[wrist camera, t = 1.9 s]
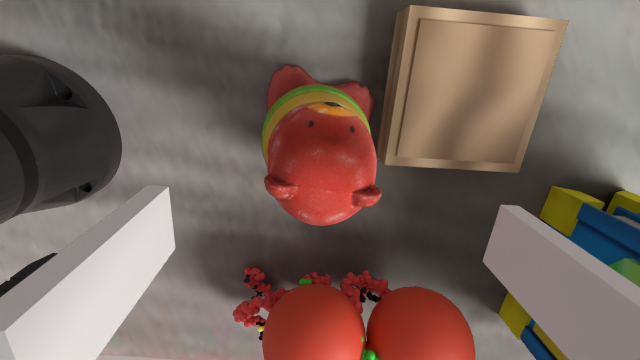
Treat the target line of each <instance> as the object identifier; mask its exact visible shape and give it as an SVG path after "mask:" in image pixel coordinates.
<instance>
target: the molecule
mask: <svg viewBox="0 0 640 360" xmlns="http://www.w3.org/2000/svg"><path fill="white" fill-rule="evenodd" d="M244 273H245V276H244V278H245V280H244V284H245V286H246V287H250V286H252V287H253V288H252V289H254V290H255V291H256V292H258V293H257V294H258V295H259V296H261V297H262V294H261V293H264V296H265V297H264V299H261V298H260V297H259V296H258V295H256V296H253V297H252V298H251V299H252V300H251V301H250V303H249V302H248V301H244V302H242V303H241V304H239V306H237V307H236V310H234V312H233V316H234V317H235V321H236V322H240V321H241V322H244V325H245V326H246V327H249V326H250V325H251V324H252V325H253V326H257V325H258V326H257V331H258V332H260V337H259V339H260V340H262V348H263V355H264V359H265V360H475V355H476V354H475V347H474V341H473V336H472V333H471V330H470V327H469V325H468V323H467V321H466V319H465V318H464V316H463V315H462V313H461V311H460V310H459V309H458V308H457V307H456V306H455V305H454V304H453V303H452V302H451V301H450V300H448V299H447V298H446V297H444V296H443V295H442V294H439V293H437V292H435V291H432V290H430V289H426V288H422V287H417V286H414V287H403V288H399V289H396V290H394V291H391V290H390V289H388V286H387V285H388V281H387V280H386V279H382V280H381V281H380V280H374V279H372V277H371V276H370V274H369V271H367V270H365V271H363V272H362V275H360V274H359V275H358V276H357V277H355V276H354V274H353V273H352V272H349V273H348V274H347V278H344V279H343V280H342V282H341V284H340V287H341V291H339V290H338V289H336V288H334V287H332V286H330V285H331V281H330V279H331V278H330V276H329V275H325V276H320V277H319V276H318V274H317V273H316V272H312V273H311V275H305V276H304V277H302V278H301V279H300V281H299V285H300V286H299V287H296V288H294V289H291V290H285V289H284V288H279V290H278V291H276V292H275V293H272V292H271V291H270V290H271V289H272V286H271V285H270V284H267V285H265V284H264V283H259V281H260V280H263V279H264V278H265V274H264V273H261V270H260V269H257V268H253V269H252V270H251V269H250V268H248V267H247V268H245V270H244ZM361 283H365V284H362V285H361V286H359V285H360V284H361ZM352 286H356V287H357V288H353V287H352ZM367 291H368V293H367ZM374 291H375V292H376V293H378V296H379V297H377V296H376V295H372V293H371V292H374ZM366 293H367V295H366V296H367V297H368V298H369V300H372V301H374V302H378V303H377V304H376V306H375V307H374V308H373V311H372V313H371V315H370V318H369V321H368V324H367V331H366V334H365V327H364V323H363V320H362V317H361V315H360V314H361V313H362V312H363V308H362V303H363V302H365V300H366V298H365V297H364V295H365V294H366ZM382 297H383V298H382ZM360 301H361V302H362V303H361V302H360ZM262 307H263V308H264V309H265V310H267V311H268V312H269V315H268V318H267V320H265V319H263V318H262V317H261V316H260V315H257V316H253V315H254V314H257V313H258V312H259V311H260V308H262ZM366 336H367V342H366Z"/></svg>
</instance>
